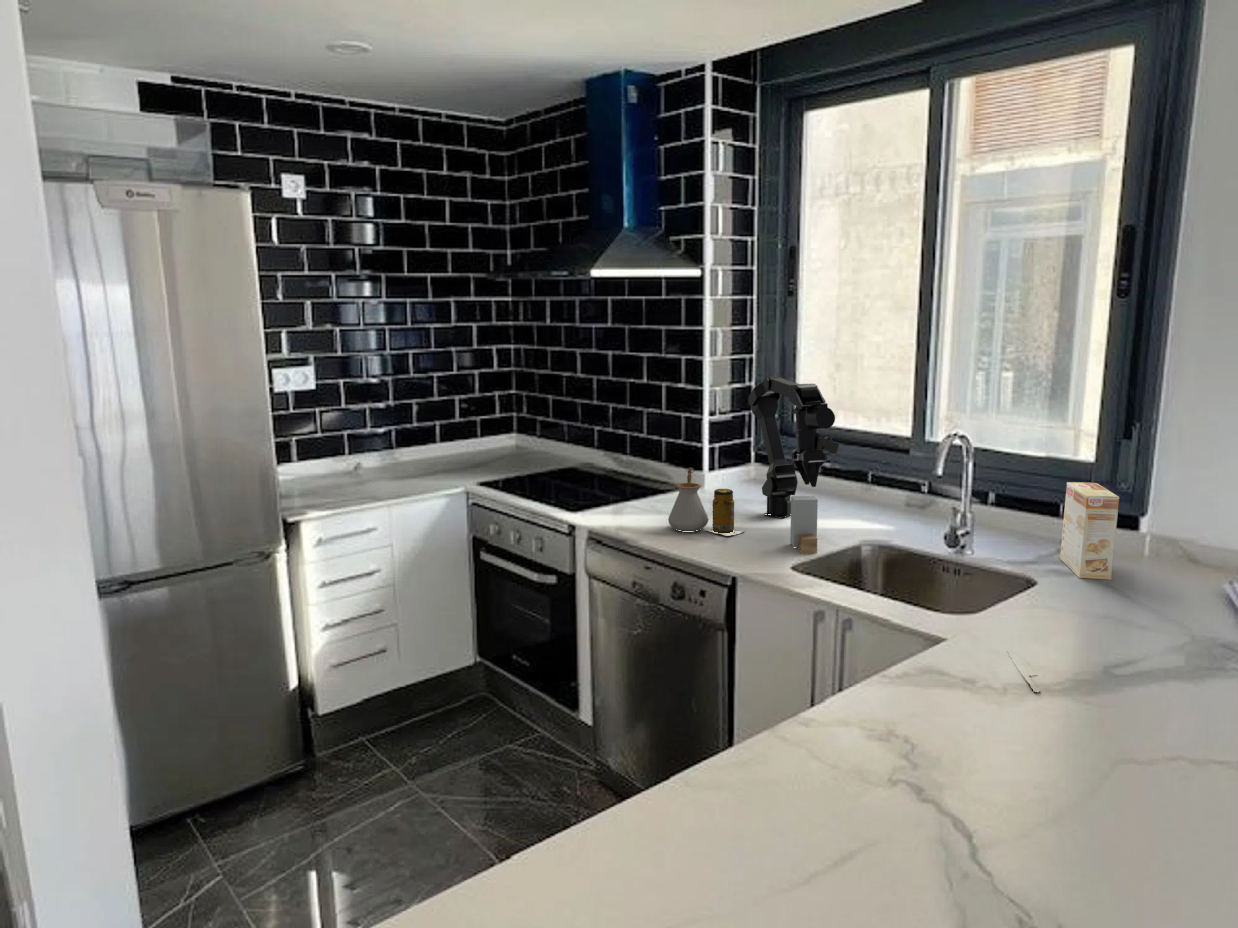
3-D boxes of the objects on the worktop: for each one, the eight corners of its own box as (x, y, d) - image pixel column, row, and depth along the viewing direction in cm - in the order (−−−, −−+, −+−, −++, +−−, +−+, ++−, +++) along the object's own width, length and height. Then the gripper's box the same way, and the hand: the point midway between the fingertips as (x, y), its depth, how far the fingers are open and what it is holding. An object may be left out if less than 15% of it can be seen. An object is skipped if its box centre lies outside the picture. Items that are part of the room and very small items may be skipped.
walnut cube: (797, 548, 221) (797, 534, 220) (812, 548, 221) (813, 533, 220) (801, 553, 217) (801, 538, 216) (816, 553, 217) (817, 538, 216)
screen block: (790, 543, 225) (791, 496, 223) (812, 543, 225) (813, 495, 223) (793, 548, 221) (794, 500, 219) (816, 547, 222) (817, 499, 219)
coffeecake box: (1112, 580, 192) (1120, 496, 189) (1078, 578, 194) (1085, 495, 190) (1090, 559, 207) (1097, 482, 203) (1058, 558, 208) (1065, 481, 204)
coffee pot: (708, 535, 235) (708, 482, 232) (666, 534, 237) (666, 482, 234) (709, 515, 256) (709, 466, 253) (671, 514, 257) (671, 466, 255)
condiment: (723, 527, 243) (723, 486, 241) (745, 532, 237) (745, 491, 234) (705, 532, 238) (705, 490, 236) (727, 538, 232) (727, 495, 230)
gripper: (844, 427, 225) (847, 486, 225) (828, 427, 243) (832, 481, 244) (802, 430, 225) (805, 489, 226) (789, 430, 244) (793, 484, 244)
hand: (810, 485), depth 235 cm, fingers open, 9 cm apart
